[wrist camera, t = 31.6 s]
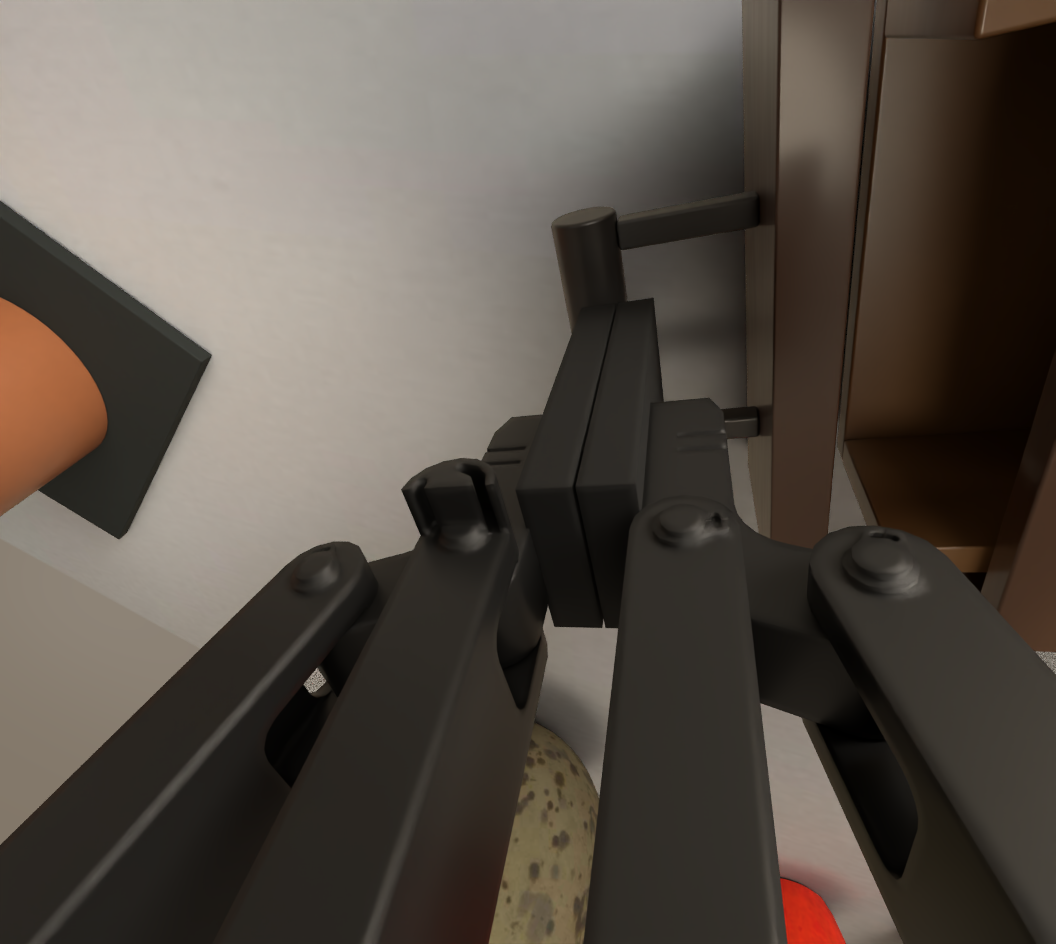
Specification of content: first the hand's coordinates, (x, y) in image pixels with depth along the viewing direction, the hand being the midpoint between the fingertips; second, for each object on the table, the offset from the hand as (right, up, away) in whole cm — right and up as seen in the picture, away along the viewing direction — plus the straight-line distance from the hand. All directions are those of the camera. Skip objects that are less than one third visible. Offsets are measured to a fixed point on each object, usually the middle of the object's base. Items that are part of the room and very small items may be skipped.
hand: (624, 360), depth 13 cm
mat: (-23, +2, +11) cm, 26 cm away
